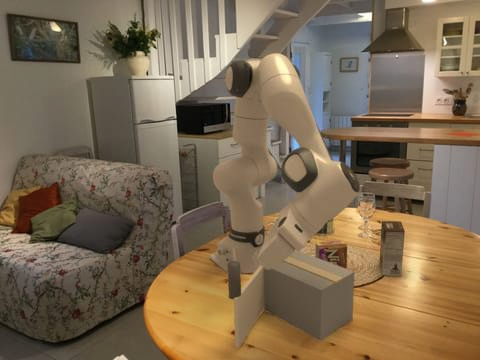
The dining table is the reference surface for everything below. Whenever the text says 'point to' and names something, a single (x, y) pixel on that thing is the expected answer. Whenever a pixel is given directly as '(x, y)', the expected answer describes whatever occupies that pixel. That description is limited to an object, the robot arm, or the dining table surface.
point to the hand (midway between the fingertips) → (255, 259)
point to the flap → (245, 299)
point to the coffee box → (391, 248)
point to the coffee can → (326, 228)
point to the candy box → (332, 252)
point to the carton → (310, 294)
